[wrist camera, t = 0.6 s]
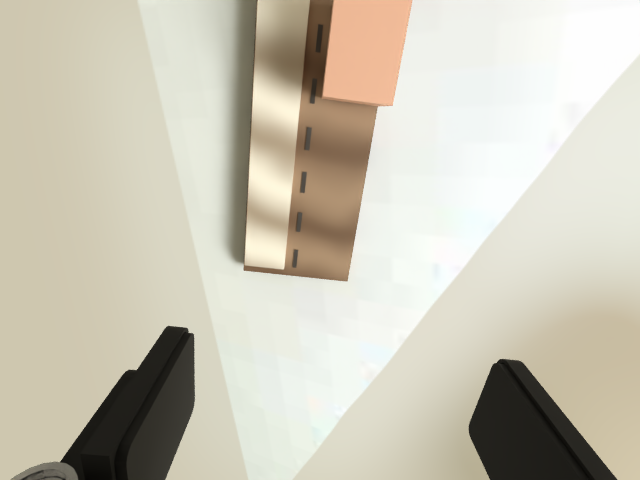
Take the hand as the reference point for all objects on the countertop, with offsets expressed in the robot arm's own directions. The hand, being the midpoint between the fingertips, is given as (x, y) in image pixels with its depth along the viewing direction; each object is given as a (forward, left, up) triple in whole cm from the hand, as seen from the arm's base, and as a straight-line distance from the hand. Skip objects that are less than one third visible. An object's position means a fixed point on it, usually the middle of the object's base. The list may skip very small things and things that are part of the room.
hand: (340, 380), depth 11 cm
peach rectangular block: (-12, +1, -24) cm, 27 cm away
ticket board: (-5, -2, -25) cm, 26 cm away
